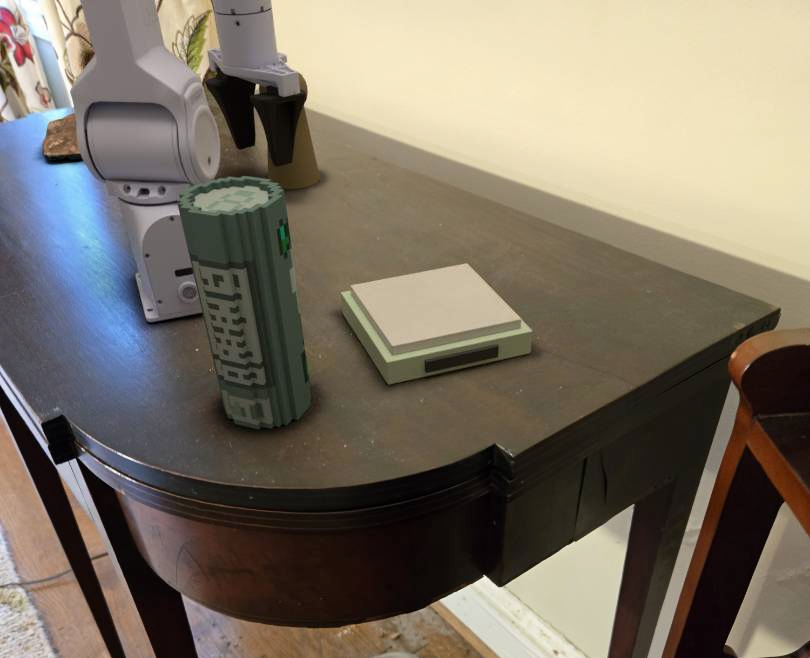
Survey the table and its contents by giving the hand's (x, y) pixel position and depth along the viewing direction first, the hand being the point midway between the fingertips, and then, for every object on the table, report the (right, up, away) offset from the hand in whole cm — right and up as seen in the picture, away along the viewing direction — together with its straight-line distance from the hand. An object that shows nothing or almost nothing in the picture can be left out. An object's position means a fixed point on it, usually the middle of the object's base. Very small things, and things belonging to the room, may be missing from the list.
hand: (264, 155), depth 86 cm
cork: (+3, -1, +4) cm, 5 cm away
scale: (+18, -26, -22) cm, 38 cm away
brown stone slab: (-25, +9, +15) cm, 30 cm away
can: (+6, -33, -29) cm, 44 cm away
